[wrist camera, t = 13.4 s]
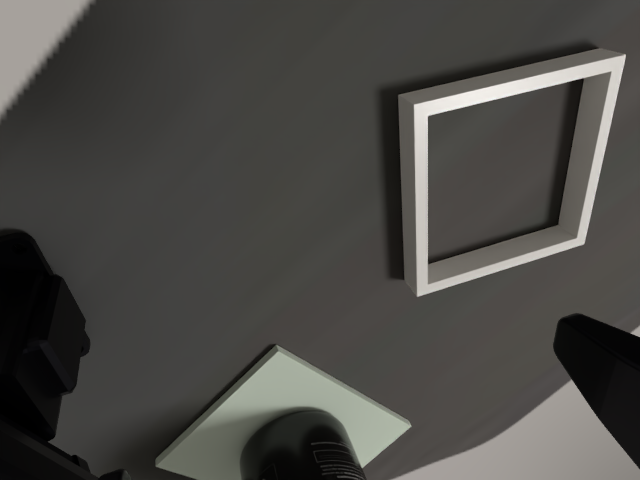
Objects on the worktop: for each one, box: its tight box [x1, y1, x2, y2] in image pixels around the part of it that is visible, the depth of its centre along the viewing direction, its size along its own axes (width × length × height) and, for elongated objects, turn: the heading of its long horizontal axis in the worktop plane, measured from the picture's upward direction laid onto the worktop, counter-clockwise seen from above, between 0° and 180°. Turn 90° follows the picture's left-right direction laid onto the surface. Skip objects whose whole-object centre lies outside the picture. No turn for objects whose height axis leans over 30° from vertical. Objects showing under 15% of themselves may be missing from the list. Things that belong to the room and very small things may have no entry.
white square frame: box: [398, 48, 626, 297], centre depth 24 cm, size 10×10×2 cm
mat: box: [155, 345, 411, 480], centre depth 30 cm, size 13×10×1 cm
